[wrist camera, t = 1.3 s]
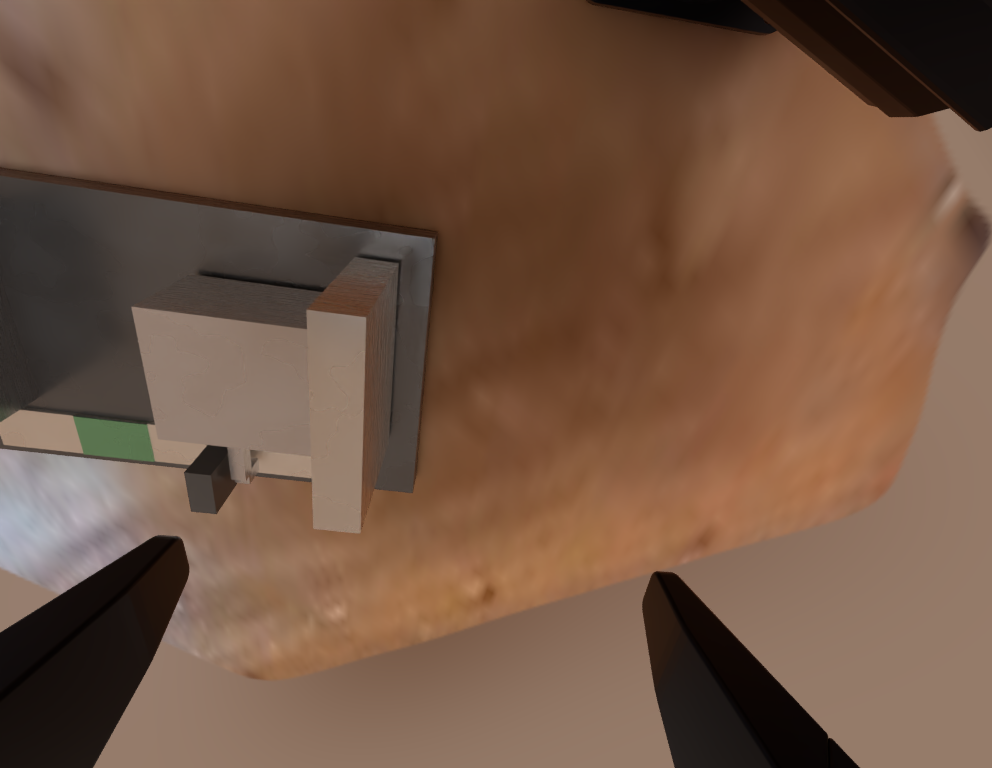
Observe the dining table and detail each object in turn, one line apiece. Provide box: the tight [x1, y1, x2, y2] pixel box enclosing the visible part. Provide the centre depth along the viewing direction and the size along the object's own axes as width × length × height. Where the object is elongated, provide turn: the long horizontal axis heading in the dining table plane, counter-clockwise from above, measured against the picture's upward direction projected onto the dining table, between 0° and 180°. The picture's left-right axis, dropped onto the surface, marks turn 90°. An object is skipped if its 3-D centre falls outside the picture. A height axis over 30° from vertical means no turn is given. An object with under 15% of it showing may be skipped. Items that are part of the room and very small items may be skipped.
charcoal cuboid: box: [184, 445, 237, 514], centre depth 21 cm, size 1×2×2 cm, turn 172°
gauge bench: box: [0, 168, 438, 493], centre depth 19 cm, size 20×12×7 cm, turn 82°
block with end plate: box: [131, 257, 399, 533], centre depth 18 cm, size 8×10×6 cm
